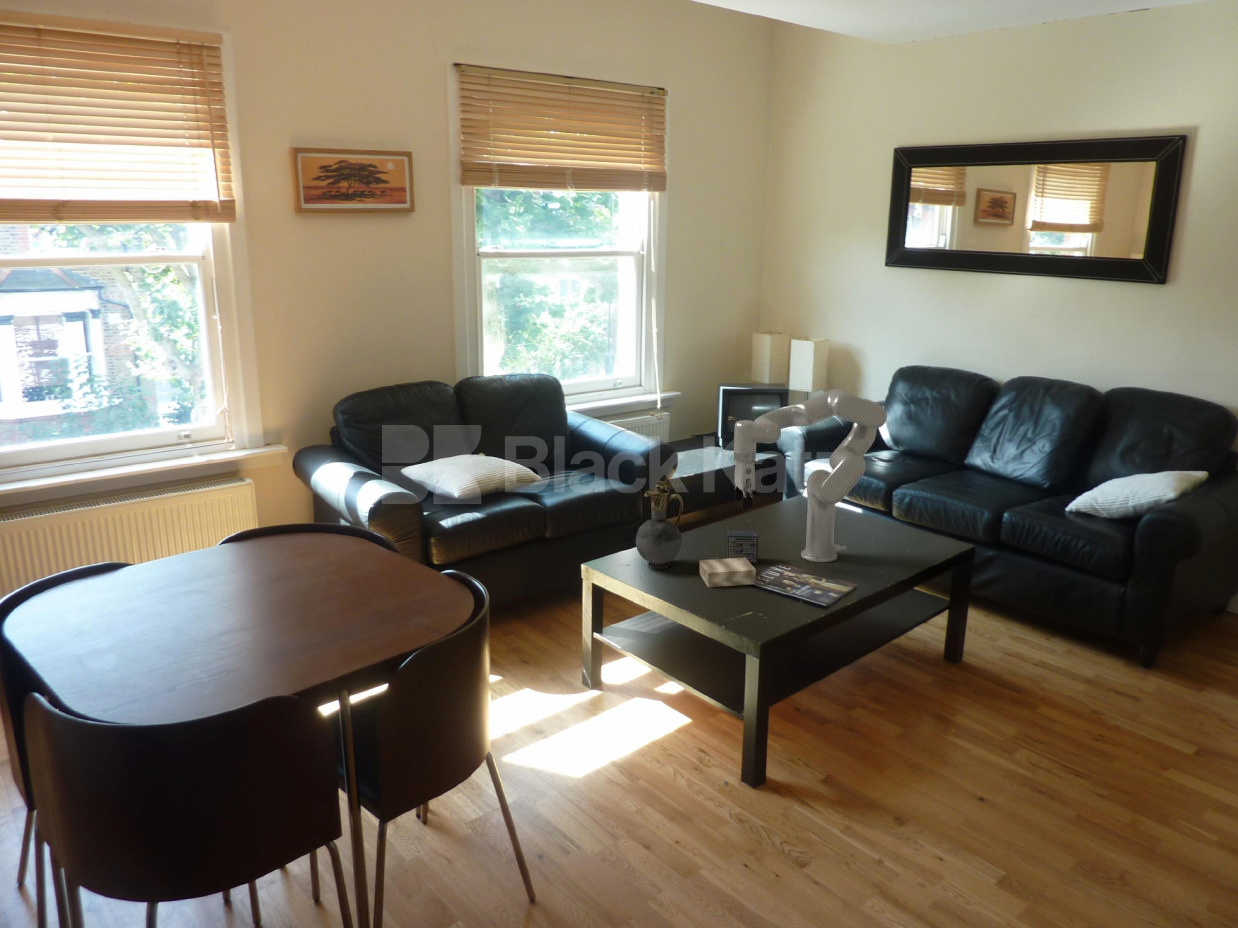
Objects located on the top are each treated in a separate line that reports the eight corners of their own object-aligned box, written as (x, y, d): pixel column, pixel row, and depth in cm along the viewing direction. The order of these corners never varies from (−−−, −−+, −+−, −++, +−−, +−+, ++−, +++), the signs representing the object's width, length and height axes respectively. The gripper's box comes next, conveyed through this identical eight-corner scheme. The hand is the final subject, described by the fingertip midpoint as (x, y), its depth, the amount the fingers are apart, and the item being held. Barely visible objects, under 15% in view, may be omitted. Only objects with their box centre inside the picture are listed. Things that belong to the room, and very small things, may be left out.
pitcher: (631, 566, 328) (630, 484, 320) (671, 554, 339) (672, 474, 332) (652, 575, 320) (652, 490, 312) (692, 562, 331) (693, 480, 324)
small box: (757, 558, 335) (757, 530, 333) (757, 564, 329) (758, 536, 326) (727, 557, 336) (727, 529, 334) (727, 563, 330) (727, 535, 327)
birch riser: (744, 571, 323) (745, 557, 322) (755, 583, 311) (755, 569, 310) (699, 574, 320) (699, 560, 319) (708, 587, 309) (708, 572, 308)
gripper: (762, 462, 315) (760, 511, 320) (747, 450, 332) (746, 496, 336) (741, 463, 314) (739, 512, 319) (727, 451, 331) (725, 497, 335)
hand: (743, 504), depth 327 cm, fingers open, 9 cm apart
